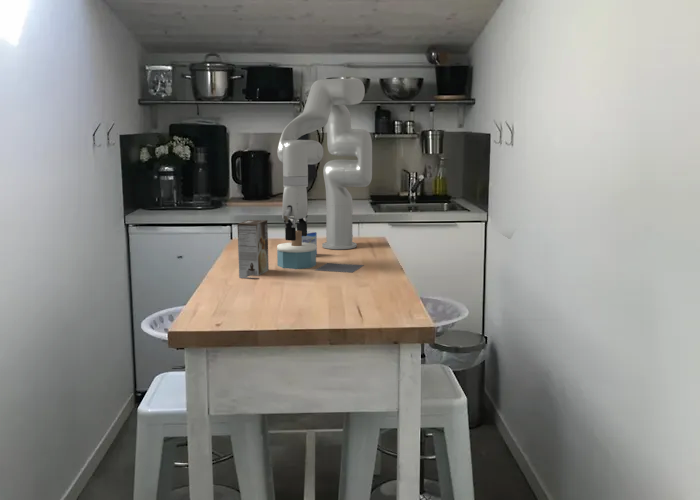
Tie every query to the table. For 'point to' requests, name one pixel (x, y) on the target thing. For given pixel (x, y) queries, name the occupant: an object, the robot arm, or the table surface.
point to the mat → (339, 267)
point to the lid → (296, 245)
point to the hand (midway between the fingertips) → (296, 238)
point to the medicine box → (310, 238)
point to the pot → (296, 259)
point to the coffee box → (252, 248)
